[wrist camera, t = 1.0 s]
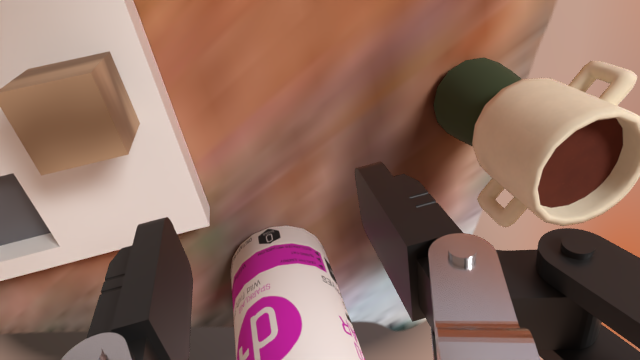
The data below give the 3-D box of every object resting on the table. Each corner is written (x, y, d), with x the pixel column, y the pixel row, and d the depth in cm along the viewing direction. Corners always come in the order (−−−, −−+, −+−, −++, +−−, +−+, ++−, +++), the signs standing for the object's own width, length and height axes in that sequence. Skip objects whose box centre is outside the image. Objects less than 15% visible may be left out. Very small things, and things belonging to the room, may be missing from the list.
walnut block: (27, 68, 24) (-8, 94, 20) (109, 51, 24) (90, 72, 20) (65, 140, 26) (41, 175, 22) (140, 123, 26) (128, 154, 23)
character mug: (454, 167, 37) (559, 266, 26) (393, 133, 34) (481, 228, 23) (541, 56, 33) (704, 115, 22) (480, 7, 30) (635, 47, 19)
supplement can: (210, 262, 36) (210, 440, 23) (284, 203, 35) (326, 357, 22) (272, 307, 40) (302, 479, 27) (340, 256, 39) (404, 411, 26)
